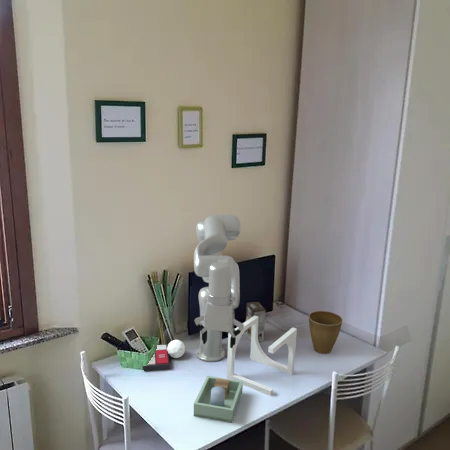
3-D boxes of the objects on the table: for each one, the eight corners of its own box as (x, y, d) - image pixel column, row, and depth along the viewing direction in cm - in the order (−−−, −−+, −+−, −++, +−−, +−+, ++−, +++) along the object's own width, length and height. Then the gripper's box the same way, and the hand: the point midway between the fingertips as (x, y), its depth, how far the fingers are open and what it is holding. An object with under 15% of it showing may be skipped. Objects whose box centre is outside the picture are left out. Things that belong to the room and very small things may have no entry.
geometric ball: (173, 364, 203) (164, 355, 198) (172, 349, 209) (163, 340, 205) (189, 357, 202) (179, 347, 197) (187, 342, 208) (178, 333, 204)
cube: (216, 389, 180) (217, 378, 179) (229, 391, 179) (229, 380, 178) (213, 397, 175) (213, 385, 174) (226, 399, 174) (227, 387, 173)
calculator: (142, 364, 191) (141, 344, 205) (142, 373, 192) (141, 353, 206) (169, 362, 193) (167, 343, 207) (169, 371, 194) (167, 351, 208)
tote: (207, 387, 183) (207, 375, 182) (242, 392, 180) (242, 381, 179) (193, 416, 166) (193, 403, 165) (232, 422, 163) (232, 410, 162)
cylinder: (212, 401, 172) (213, 385, 170) (225, 404, 171) (226, 388, 169) (208, 410, 168) (209, 393, 166) (221, 413, 166) (222, 396, 164)
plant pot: (342, 359, 206) (346, 325, 202) (308, 357, 206) (311, 324, 202) (335, 342, 221) (338, 311, 216) (304, 341, 221) (306, 309, 217)
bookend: (293, 372, 195) (297, 328, 190) (270, 396, 179) (273, 348, 174) (252, 357, 206) (254, 315, 200) (226, 378, 190) (228, 333, 184)
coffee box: (244, 333, 226) (246, 302, 222) (257, 332, 228) (258, 301, 224) (251, 342, 218) (252, 310, 214) (264, 340, 220) (266, 309, 216)
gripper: (246, 297, 160) (244, 342, 165) (198, 291, 164) (197, 335, 168) (242, 306, 153) (240, 353, 158) (191, 299, 157) (191, 346, 161)
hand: (218, 344), depth 163 cm, fingers open, 9 cm apart
